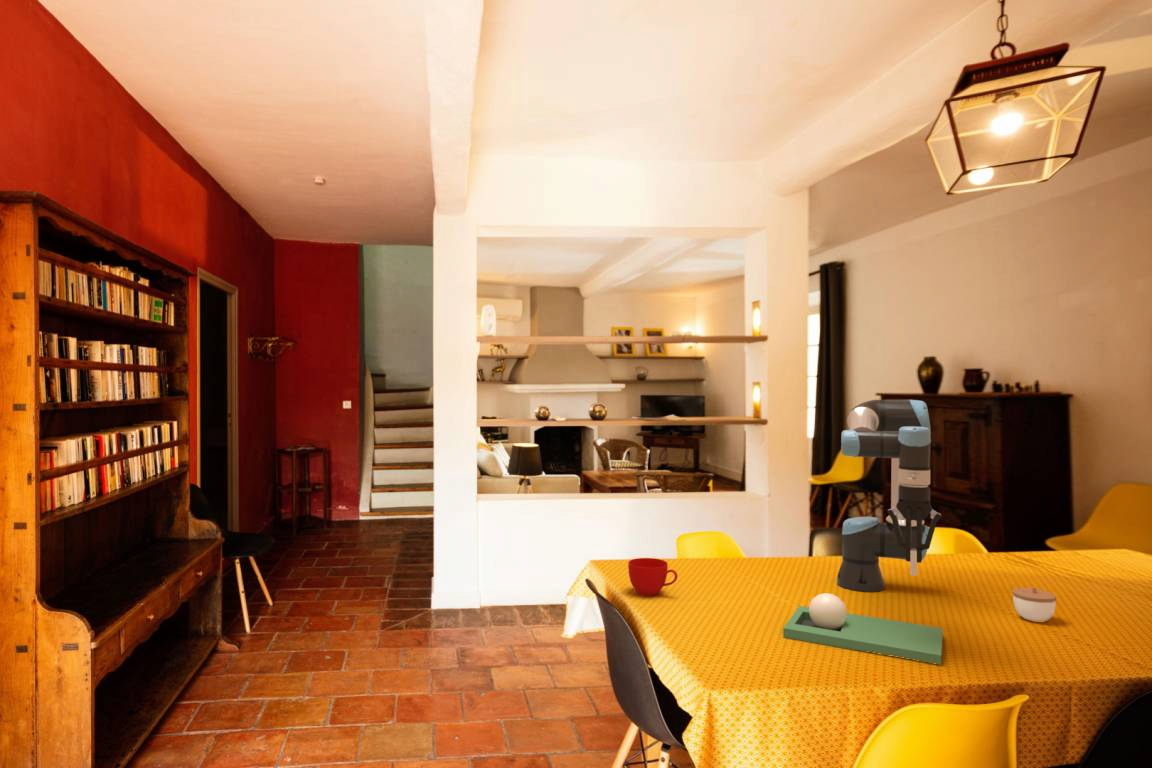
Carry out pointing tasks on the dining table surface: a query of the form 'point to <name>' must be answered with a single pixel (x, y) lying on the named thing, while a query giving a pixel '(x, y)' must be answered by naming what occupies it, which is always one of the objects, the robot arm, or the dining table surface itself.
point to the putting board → (870, 636)
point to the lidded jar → (1034, 603)
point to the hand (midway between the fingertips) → (913, 574)
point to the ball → (828, 611)
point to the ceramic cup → (649, 575)
